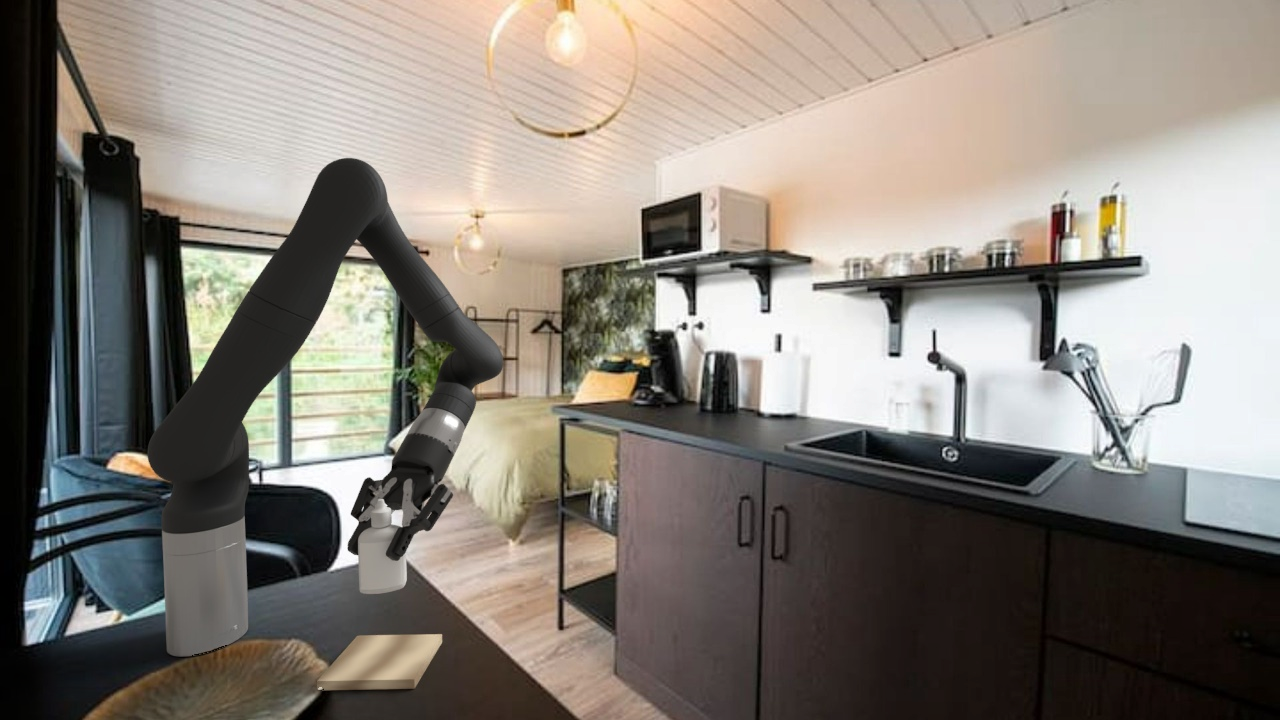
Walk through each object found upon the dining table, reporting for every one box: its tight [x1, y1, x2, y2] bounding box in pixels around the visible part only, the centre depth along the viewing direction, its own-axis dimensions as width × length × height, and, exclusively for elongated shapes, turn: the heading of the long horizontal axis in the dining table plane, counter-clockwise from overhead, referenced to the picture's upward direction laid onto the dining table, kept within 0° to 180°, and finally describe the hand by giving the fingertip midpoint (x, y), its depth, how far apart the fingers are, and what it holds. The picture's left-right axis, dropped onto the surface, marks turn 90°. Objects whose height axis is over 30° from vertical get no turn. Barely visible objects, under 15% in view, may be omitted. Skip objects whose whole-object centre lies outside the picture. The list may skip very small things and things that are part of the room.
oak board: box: [316, 633, 443, 691], centre depth 71 cm, size 12×10×1 cm
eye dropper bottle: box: [357, 499, 408, 595], centre depth 70 cm, size 4×6×12 cm
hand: (372, 555), depth 69 cm, fingers closed on eye dropper bottle, 5 cm apart
